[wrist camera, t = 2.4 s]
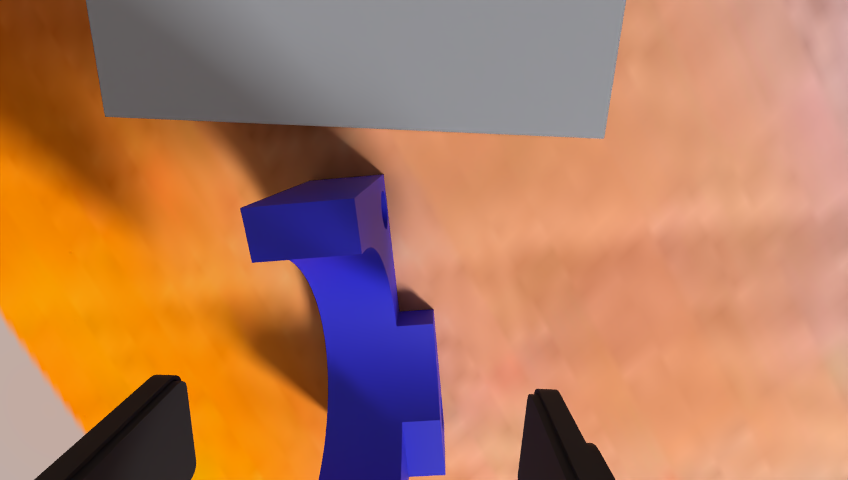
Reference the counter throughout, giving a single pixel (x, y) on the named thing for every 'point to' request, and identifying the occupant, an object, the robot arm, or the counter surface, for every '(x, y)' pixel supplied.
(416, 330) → the cable clip
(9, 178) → the counter surface
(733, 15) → the counter surface
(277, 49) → the slotted block
